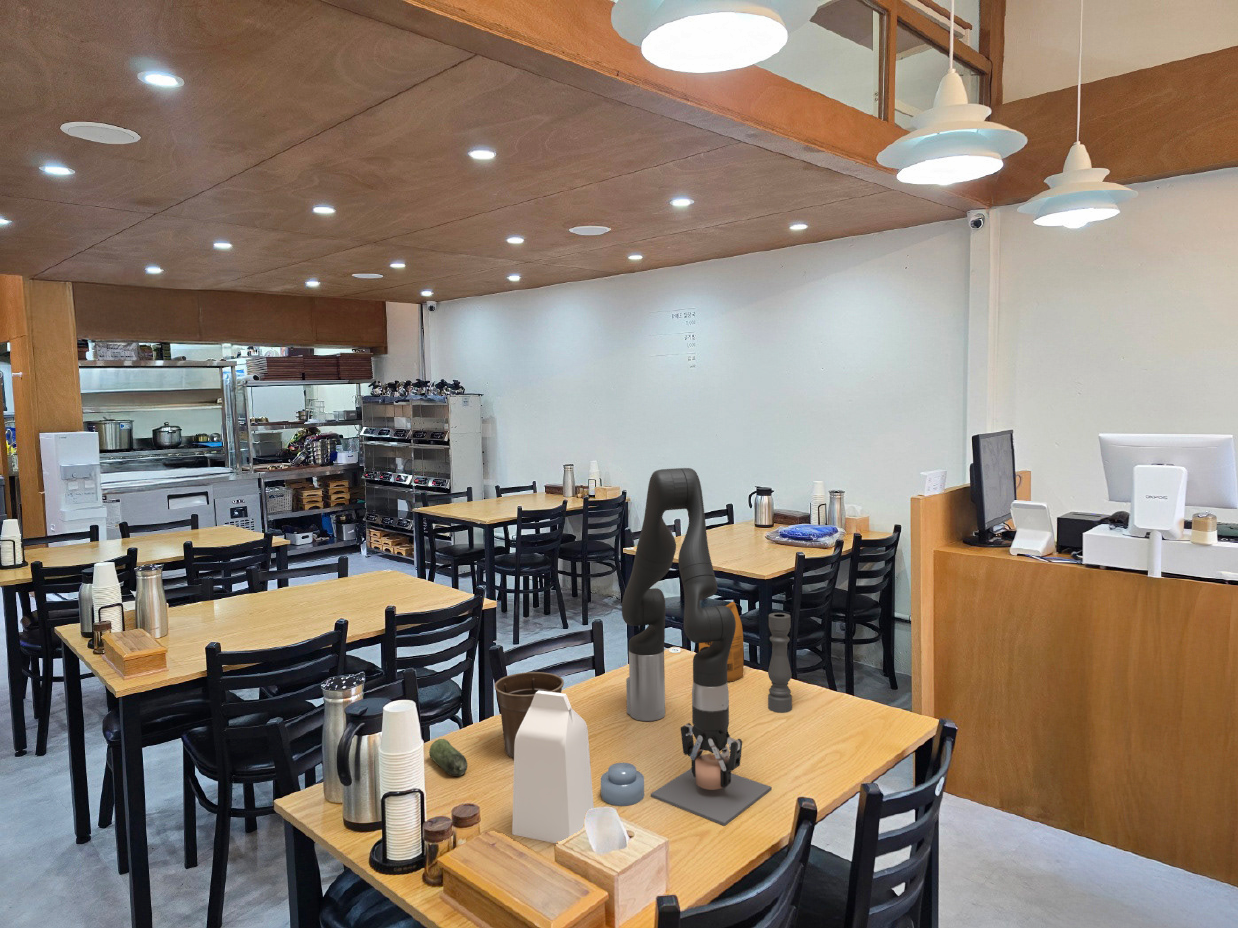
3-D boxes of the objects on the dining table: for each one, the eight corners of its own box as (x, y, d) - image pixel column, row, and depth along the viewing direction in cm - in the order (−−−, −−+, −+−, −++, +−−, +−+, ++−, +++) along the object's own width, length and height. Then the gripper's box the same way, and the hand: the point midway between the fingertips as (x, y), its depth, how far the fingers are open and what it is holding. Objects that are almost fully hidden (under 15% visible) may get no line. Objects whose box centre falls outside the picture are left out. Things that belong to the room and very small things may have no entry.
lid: (689, 783, 159) (689, 762, 159) (706, 771, 164) (706, 751, 163) (715, 792, 155) (715, 771, 154) (732, 780, 160) (732, 759, 159)
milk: (512, 834, 145) (508, 700, 143) (539, 804, 156) (536, 679, 154) (569, 845, 141) (566, 708, 139) (594, 814, 152) (591, 686, 150)
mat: (650, 796, 158) (650, 793, 158) (700, 764, 172) (700, 762, 172) (724, 825, 147) (724, 822, 147) (771, 789, 160) (771, 786, 160)
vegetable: (426, 760, 177) (425, 739, 177) (447, 754, 180) (446, 733, 180) (450, 783, 166) (449, 761, 166) (472, 776, 169) (472, 754, 169)
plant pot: (528, 729, 193) (527, 666, 192) (579, 744, 184) (577, 678, 183) (482, 753, 180) (479, 686, 179) (533, 771, 170) (531, 700, 169)
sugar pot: (592, 796, 159) (591, 770, 158) (620, 779, 166) (619, 755, 165) (625, 810, 153) (624, 783, 153) (653, 792, 160) (652, 767, 159)
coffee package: (694, 677, 228) (693, 604, 227) (726, 669, 235) (725, 598, 233) (715, 687, 220) (714, 611, 218) (748, 678, 226) (747, 605, 225)
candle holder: (793, 705, 205) (792, 613, 204) (790, 713, 200) (790, 619, 198) (769, 702, 208) (769, 611, 206) (766, 711, 202) (765, 617, 200)
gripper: (671, 699, 160) (672, 777, 161) (730, 716, 151) (731, 799, 152) (692, 689, 166) (693, 764, 167) (750, 705, 156) (750, 784, 157)
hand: (711, 780), depth 159 cm, fingers closed on lid, 6 cm apart
